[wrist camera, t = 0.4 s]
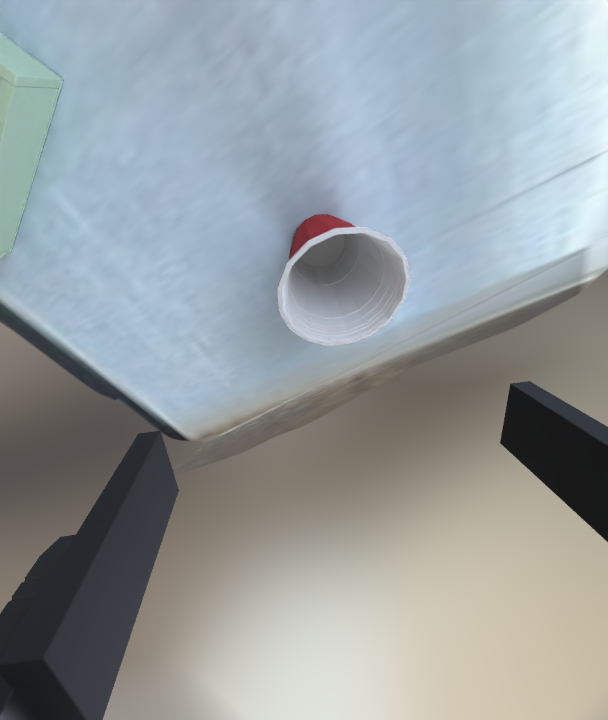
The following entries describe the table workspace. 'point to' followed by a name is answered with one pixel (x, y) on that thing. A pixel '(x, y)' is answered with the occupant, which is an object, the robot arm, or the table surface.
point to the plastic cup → (341, 281)
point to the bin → (21, 130)
